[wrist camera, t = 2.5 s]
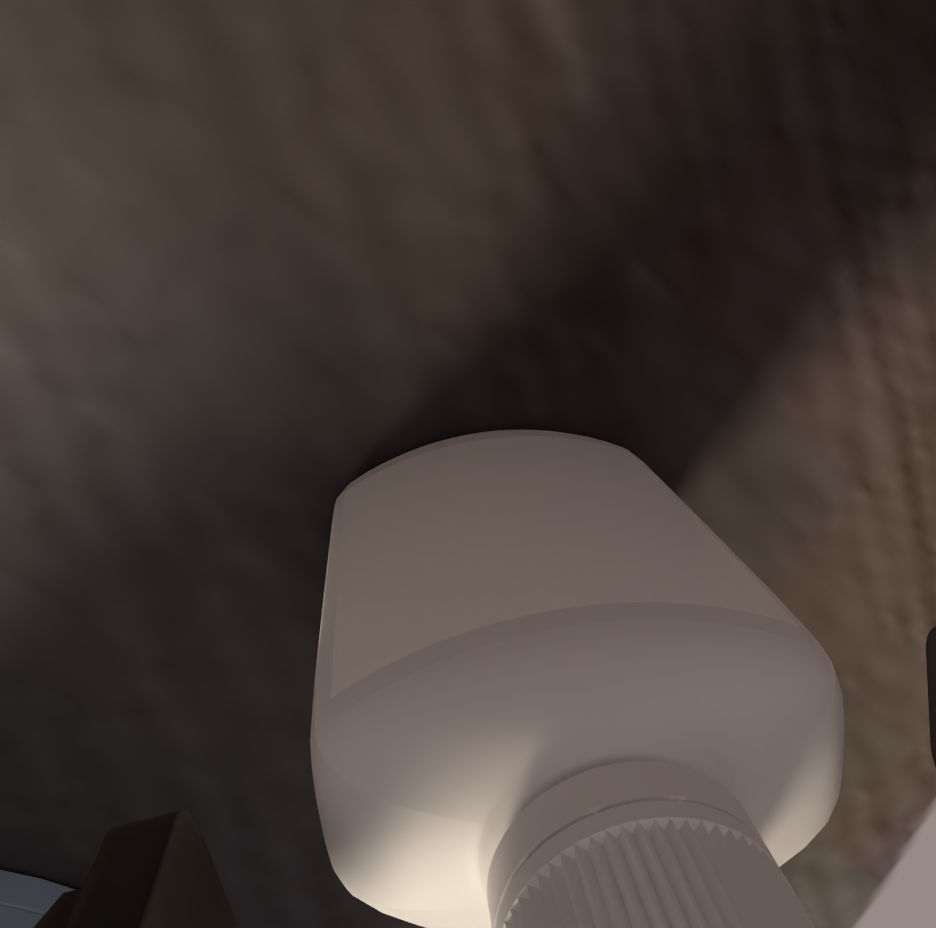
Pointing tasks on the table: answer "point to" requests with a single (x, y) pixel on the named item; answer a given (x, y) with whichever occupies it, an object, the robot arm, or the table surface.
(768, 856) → the eye dropper bottle
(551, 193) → the table surface
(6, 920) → the blue-grey pot
